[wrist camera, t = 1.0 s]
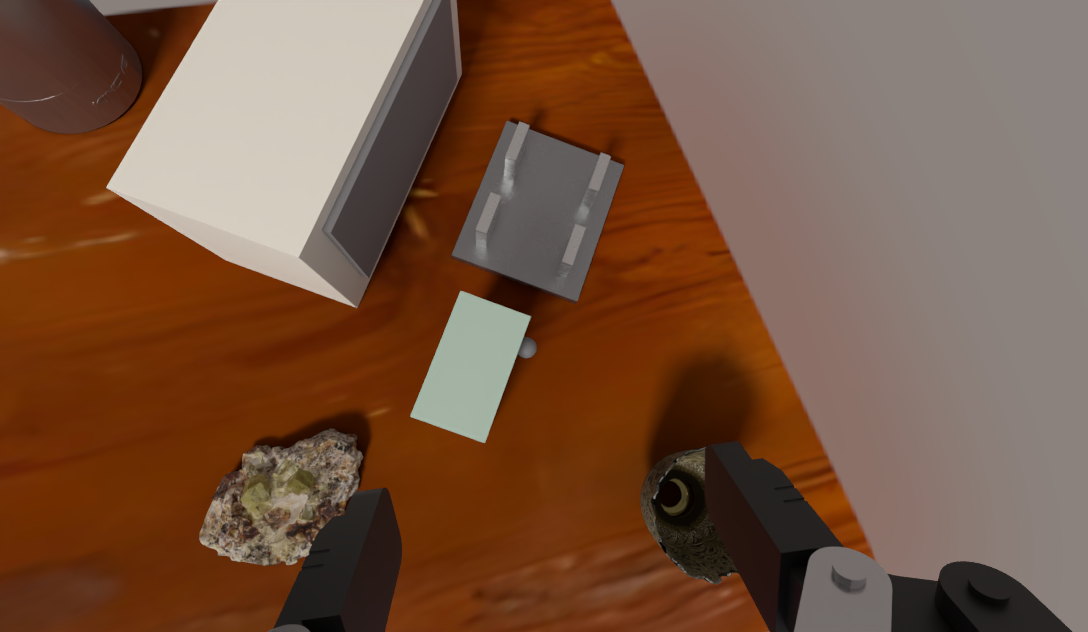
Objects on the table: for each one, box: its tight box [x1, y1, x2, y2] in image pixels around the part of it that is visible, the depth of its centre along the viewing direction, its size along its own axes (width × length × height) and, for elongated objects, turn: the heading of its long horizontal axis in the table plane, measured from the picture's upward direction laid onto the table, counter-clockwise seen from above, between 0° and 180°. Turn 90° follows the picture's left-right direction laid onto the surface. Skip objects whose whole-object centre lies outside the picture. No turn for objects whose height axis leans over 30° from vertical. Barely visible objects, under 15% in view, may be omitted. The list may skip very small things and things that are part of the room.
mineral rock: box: [199, 429, 363, 566], centre depth 34 cm, size 11×4×8 cm
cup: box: [641, 447, 739, 584], centre depth 33 cm, size 8×7×8 cm
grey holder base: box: [452, 121, 624, 304], centre depth 39 cm, size 10×12×4 cm
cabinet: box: [106, 0, 462, 308], centre depth 34 cm, size 10×21×12 cm, turn 161°
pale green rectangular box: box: [410, 291, 537, 443], centre depth 32 cm, size 5×7×11 cm
